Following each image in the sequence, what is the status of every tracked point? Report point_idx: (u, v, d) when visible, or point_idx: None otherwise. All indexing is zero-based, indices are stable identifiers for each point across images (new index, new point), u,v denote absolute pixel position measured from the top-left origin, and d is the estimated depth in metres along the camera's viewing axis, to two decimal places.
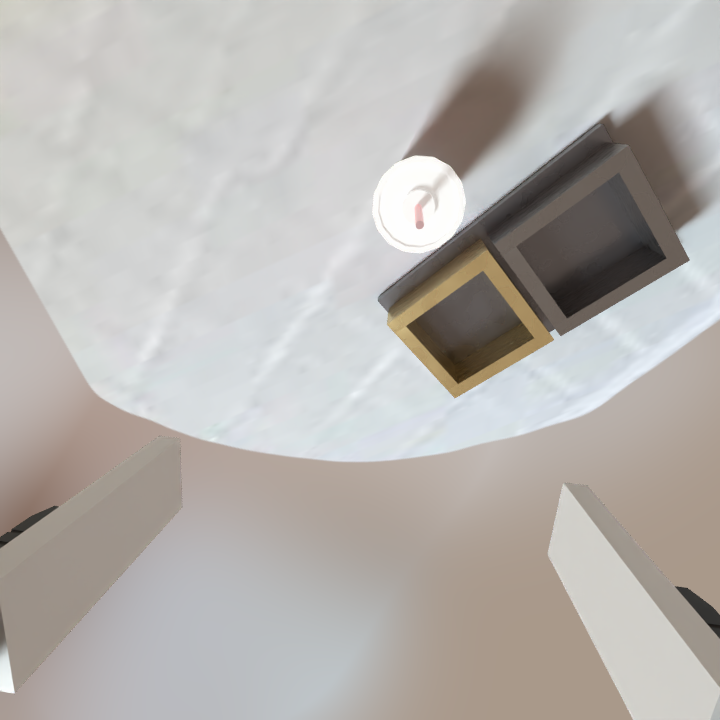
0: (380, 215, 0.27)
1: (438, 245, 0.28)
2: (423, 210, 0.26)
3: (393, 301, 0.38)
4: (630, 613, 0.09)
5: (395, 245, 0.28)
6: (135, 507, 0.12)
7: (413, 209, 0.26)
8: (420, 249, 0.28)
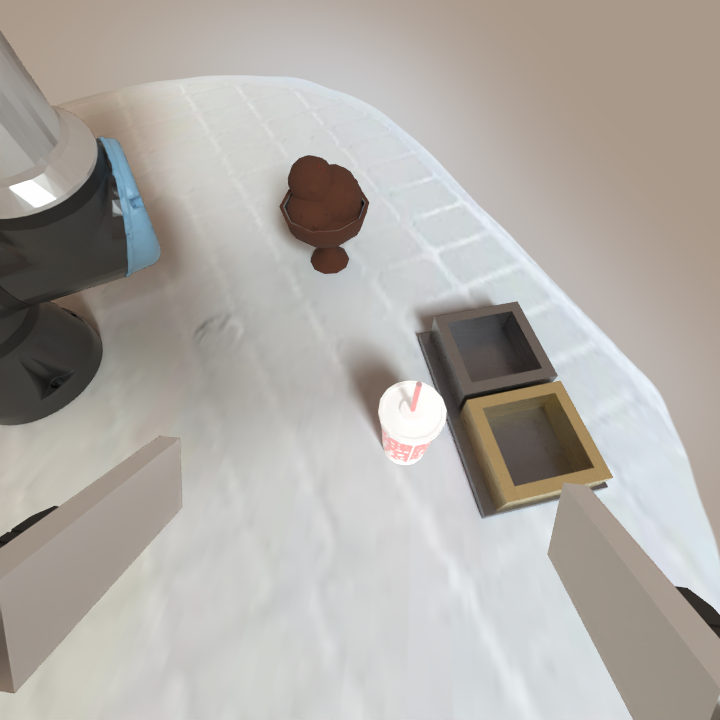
0: (405, 436, 0.35)
1: (444, 408, 0.36)
2: (416, 407, 0.36)
3: (490, 501, 0.39)
4: (630, 613, 0.09)
5: (432, 436, 0.34)
6: (135, 507, 0.12)
7: (412, 412, 0.35)
8: (442, 421, 0.35)
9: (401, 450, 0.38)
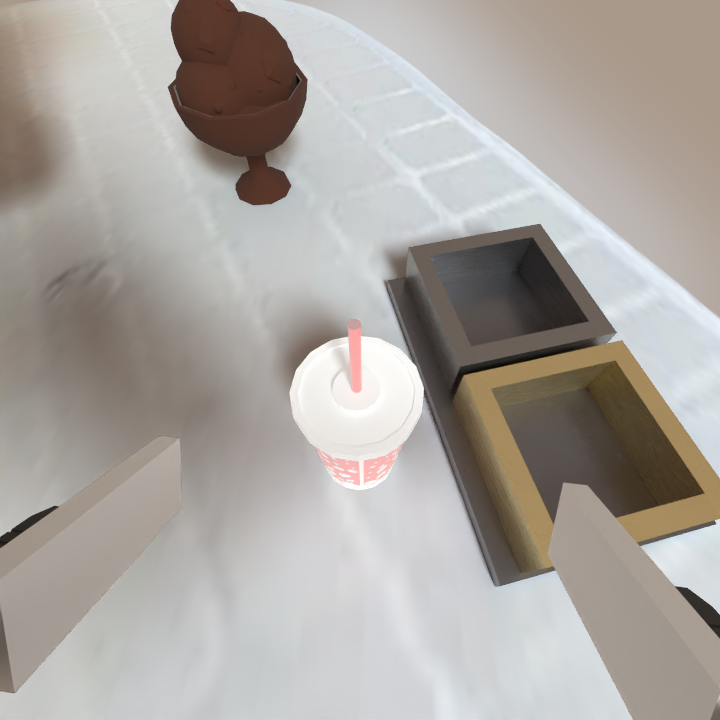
0: (340, 443, 0.17)
1: (420, 386, 0.18)
2: (363, 383, 0.18)
3: (508, 557, 0.22)
4: (630, 613, 0.09)
5: (393, 441, 0.17)
6: (135, 507, 0.12)
7: (355, 394, 0.18)
8: (415, 410, 0.18)
9: (342, 468, 0.20)
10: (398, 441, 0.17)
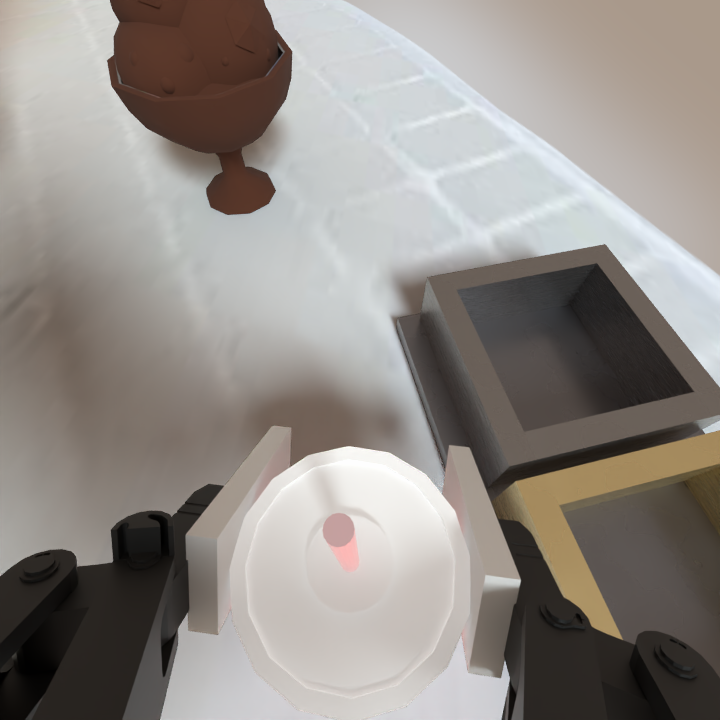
0: (318, 685, 0.09)
1: (464, 554, 0.10)
2: (361, 552, 0.10)
3: None
4: None
5: (419, 685, 0.09)
6: None
7: (347, 575, 0.10)
8: (458, 610, 0.10)
9: None
10: (428, 683, 0.09)
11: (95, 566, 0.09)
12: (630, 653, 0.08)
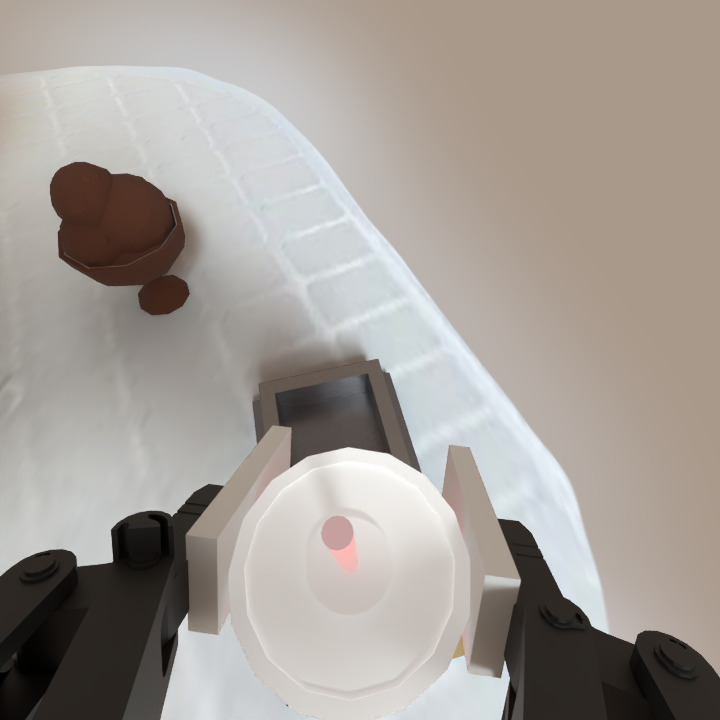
0: (317, 688, 0.09)
1: (464, 556, 0.10)
2: (361, 554, 0.10)
3: None
4: (463, 538, 0.11)
5: (419, 688, 0.09)
6: None
7: (346, 577, 0.10)
8: (458, 612, 0.10)
9: None
10: (427, 685, 0.09)
11: (95, 566, 0.09)
12: (630, 653, 0.08)
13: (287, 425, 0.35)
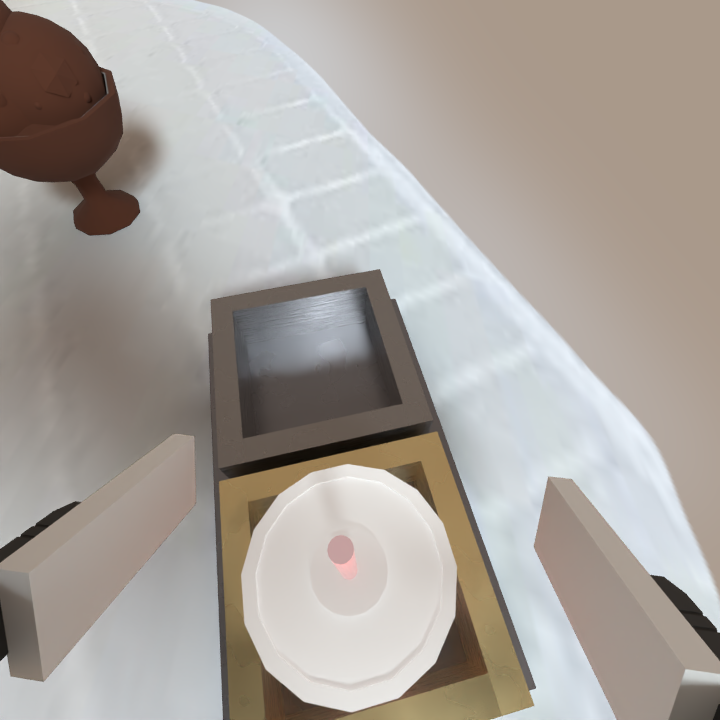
0: (321, 680, 0.10)
1: (451, 562, 0.11)
2: (359, 561, 0.11)
3: None
4: (607, 600, 0.09)
5: (410, 679, 0.10)
6: (153, 503, 0.12)
7: (346, 582, 0.11)
8: (445, 612, 0.11)
9: None
10: (418, 677, 0.10)
11: None
12: None
13: (253, 363, 0.26)
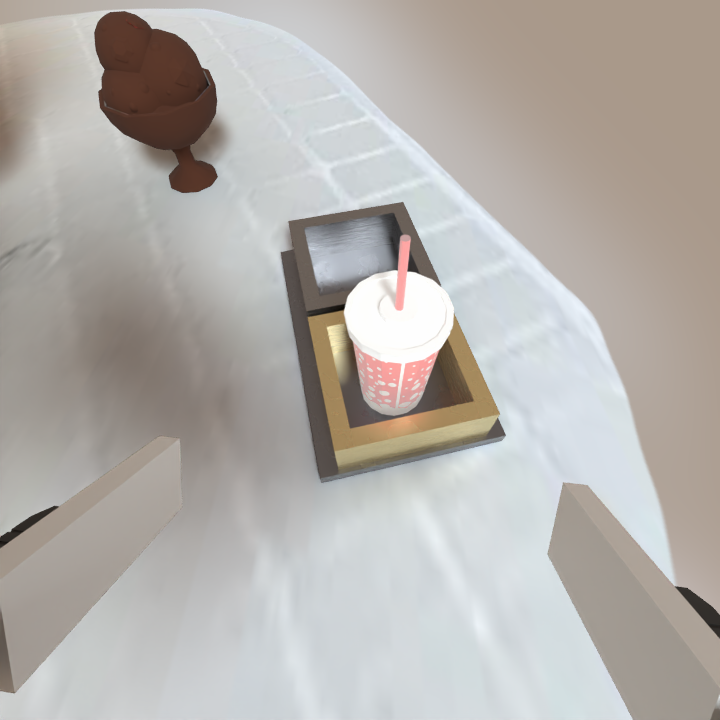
0: (388, 347, 0.21)
1: (451, 306, 0.22)
2: (404, 304, 0.22)
3: (331, 458, 0.27)
4: (630, 613, 0.09)
5: (431, 345, 0.21)
6: (135, 507, 0.12)
7: (398, 311, 0.22)
8: (448, 323, 0.22)
9: (384, 381, 0.24)
10: (435, 346, 0.21)
11: None
12: None
13: (314, 269, 0.37)
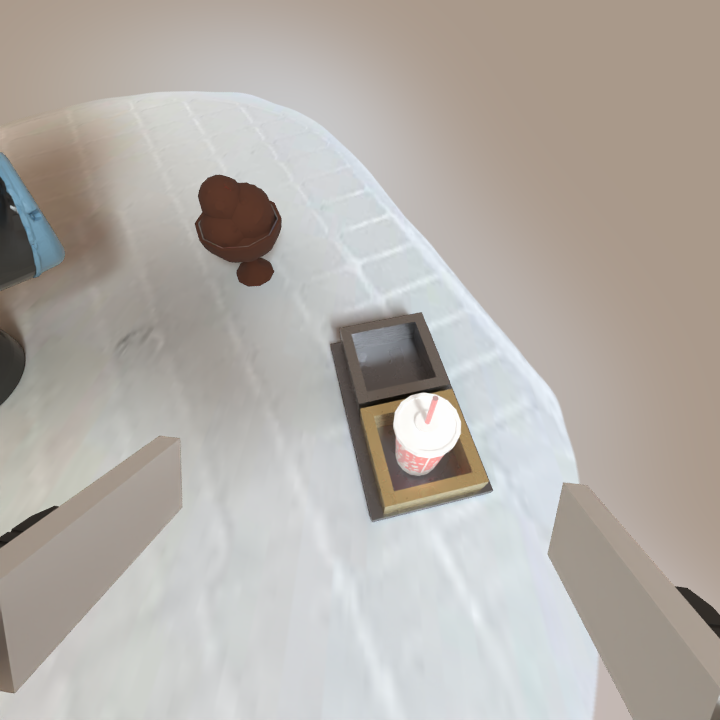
0: (421, 449, 0.35)
1: (459, 420, 0.36)
2: (430, 419, 0.36)
3: (378, 506, 0.41)
4: (630, 613, 0.09)
5: (447, 448, 0.35)
6: (135, 507, 0.12)
7: (427, 425, 0.36)
8: (457, 433, 0.36)
9: (416, 462, 0.38)
10: (449, 448, 0.35)
11: None
12: None
13: None
